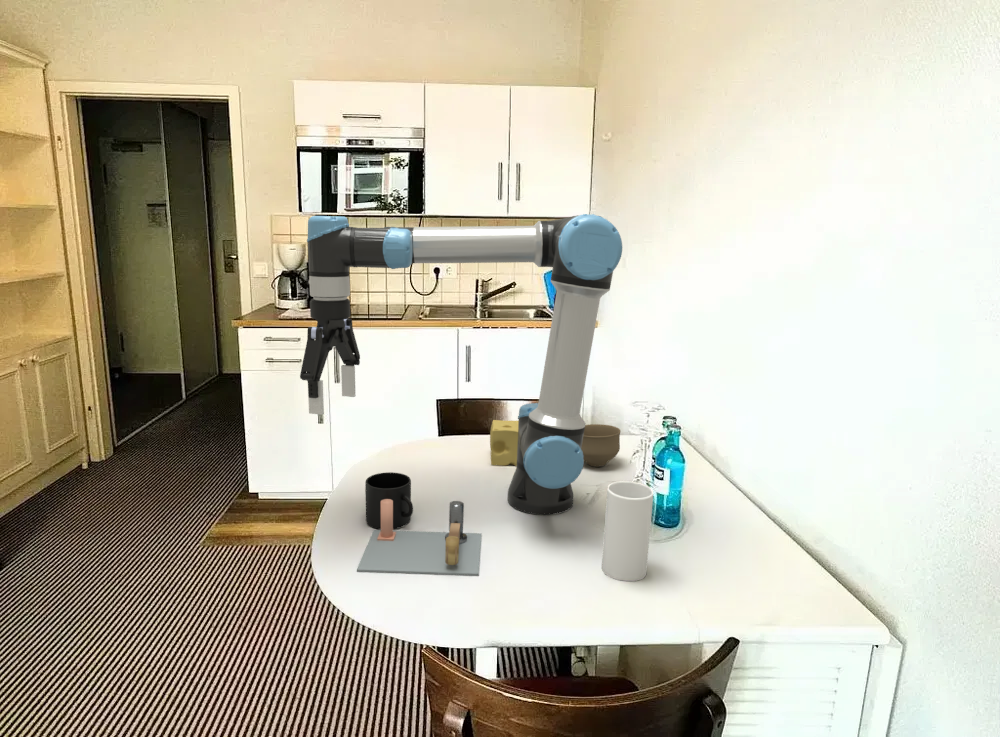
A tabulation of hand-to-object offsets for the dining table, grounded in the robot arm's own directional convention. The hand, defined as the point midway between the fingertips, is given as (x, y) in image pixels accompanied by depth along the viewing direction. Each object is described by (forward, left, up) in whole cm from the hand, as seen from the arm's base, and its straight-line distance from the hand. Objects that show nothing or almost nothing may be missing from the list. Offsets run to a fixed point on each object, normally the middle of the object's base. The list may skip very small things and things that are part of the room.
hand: (333, 404), depth 133 cm
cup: (-57, +14, -26) cm, 65 cm away
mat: (-19, +10, -26) cm, 34 cm away
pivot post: (-25, +5, -26) cm, 37 cm away
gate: (-25, +13, -24) cm, 37 cm away
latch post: (-12, +5, -26) cm, 29 cm away
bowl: (-59, -42, -26) cm, 77 cm away
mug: (-11, -2, -26) cm, 29 cm away
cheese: (-36, -43, -26) cm, 62 cm away
